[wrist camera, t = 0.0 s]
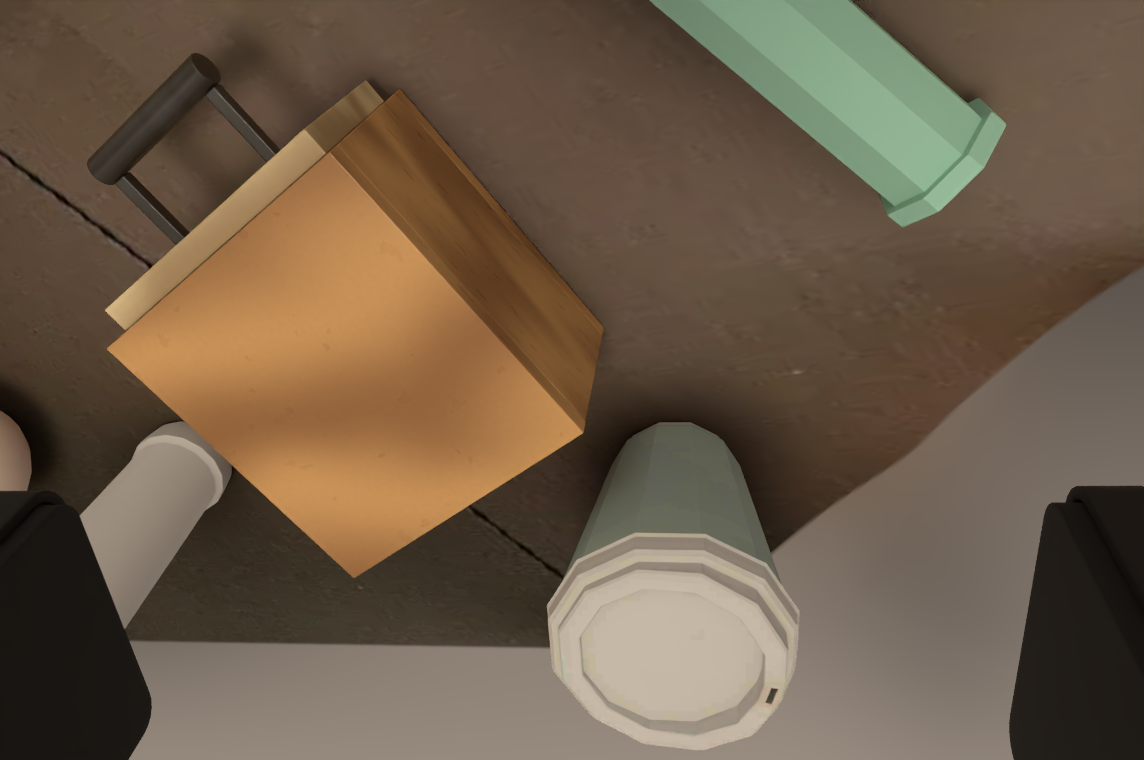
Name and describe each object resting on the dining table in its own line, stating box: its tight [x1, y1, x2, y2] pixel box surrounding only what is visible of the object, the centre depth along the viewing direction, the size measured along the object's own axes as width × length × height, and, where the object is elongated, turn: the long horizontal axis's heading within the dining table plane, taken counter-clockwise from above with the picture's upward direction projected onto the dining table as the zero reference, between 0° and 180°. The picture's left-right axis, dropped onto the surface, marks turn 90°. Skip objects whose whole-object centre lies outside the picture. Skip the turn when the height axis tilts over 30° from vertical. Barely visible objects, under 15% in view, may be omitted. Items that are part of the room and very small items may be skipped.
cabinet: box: [107, 89, 604, 578], centre depth 46 cm, size 15×14×10 cm
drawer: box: [87, 53, 384, 330], centre depth 45 cm, size 18×13×8 cm
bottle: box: [80, 421, 232, 629], centre depth 46 cm, size 5×5×25 cm
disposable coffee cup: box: [547, 422, 800, 751], centre depth 47 cm, size 11×11×15 cm
